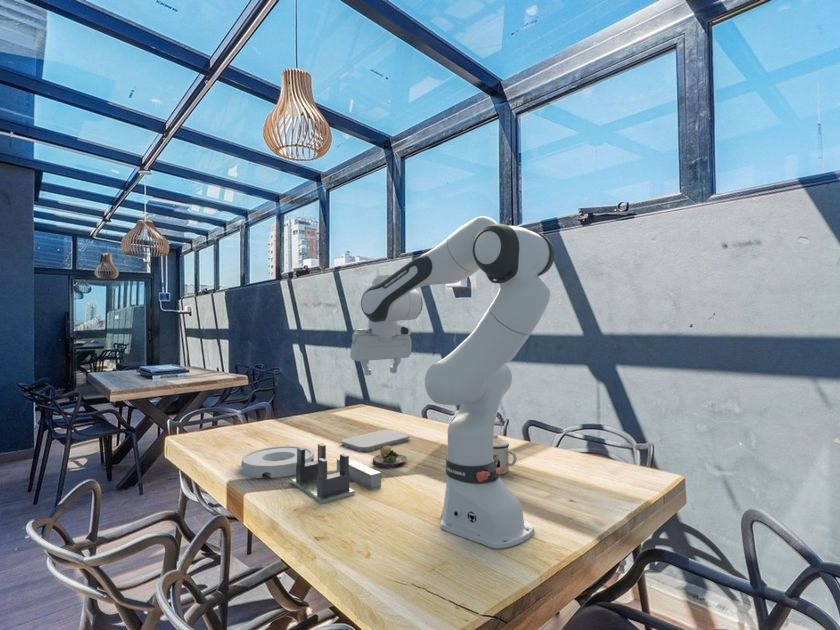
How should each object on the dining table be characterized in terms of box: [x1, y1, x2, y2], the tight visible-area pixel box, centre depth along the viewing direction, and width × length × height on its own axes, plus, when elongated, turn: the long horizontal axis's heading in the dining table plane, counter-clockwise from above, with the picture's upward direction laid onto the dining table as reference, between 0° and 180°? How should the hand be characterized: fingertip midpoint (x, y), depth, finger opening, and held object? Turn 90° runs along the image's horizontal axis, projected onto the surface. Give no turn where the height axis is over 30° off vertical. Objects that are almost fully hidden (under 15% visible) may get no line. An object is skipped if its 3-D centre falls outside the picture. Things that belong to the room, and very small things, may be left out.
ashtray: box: [241, 445, 315, 479], centre depth 144 cm, size 23×23×4 cm
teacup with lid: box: [493, 433, 517, 475], centre depth 138 cm, size 12×9×12 cm
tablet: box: [340, 429, 411, 452], centre depth 173 cm, size 16×26×2 cm, turn 136°
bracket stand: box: [290, 443, 356, 504], centre depth 124 cm, size 20×10×10 cm, turn 39°
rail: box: [336, 457, 382, 491], centre depth 131 cm, size 20×4×4 cm, turn 40°
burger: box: [372, 443, 408, 469], centre depth 147 cm, size 12×12×8 cm
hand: (380, 373), depth 130 cm, fingers open, 8 cm apart
